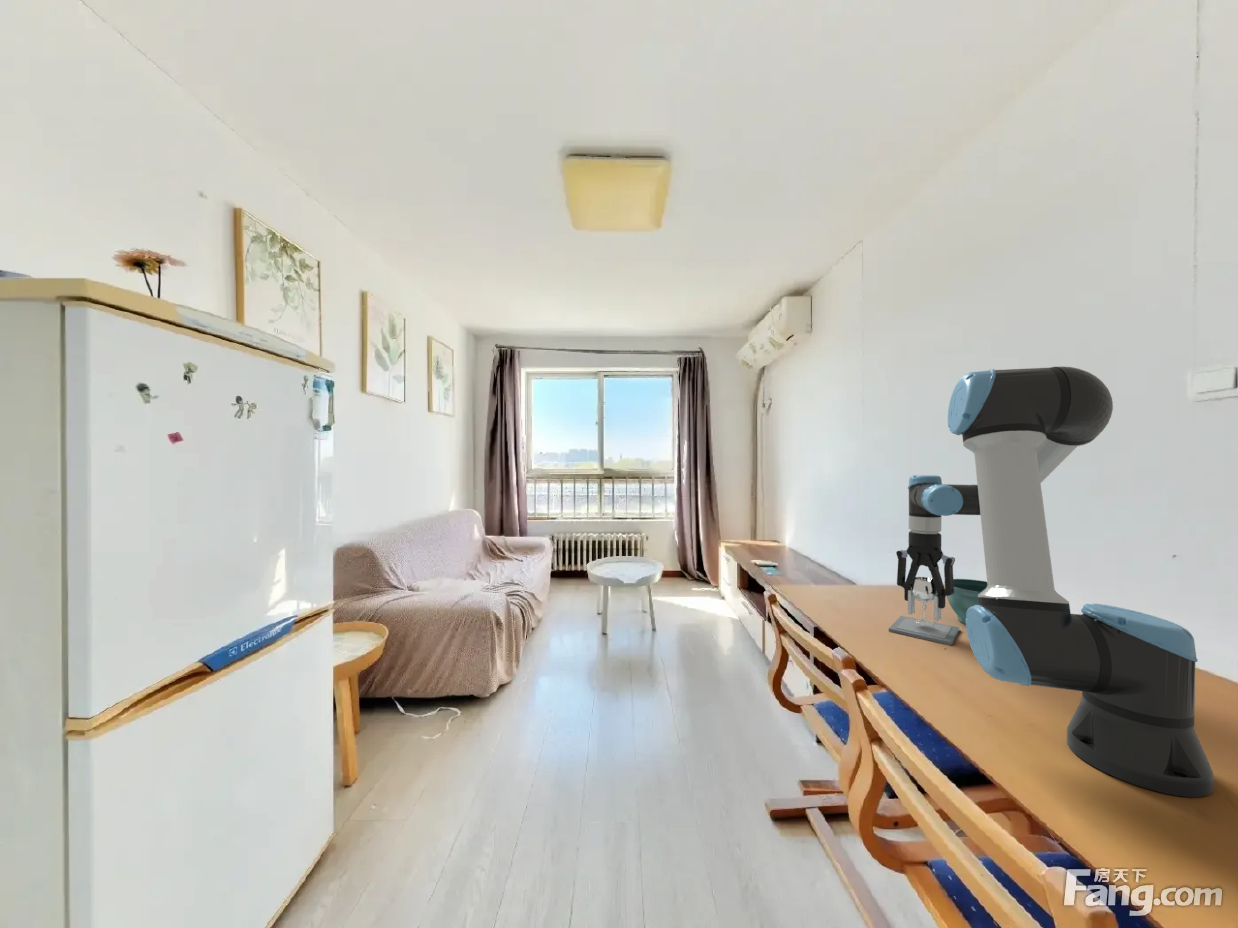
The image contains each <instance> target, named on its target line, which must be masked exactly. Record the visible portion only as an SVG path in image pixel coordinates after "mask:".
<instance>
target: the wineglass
mask: <svg viewBox="0 0 1238 928" xmlns="http://www.w3.org/2000/svg"><path fill="white" fill-rule="evenodd" d="M911 589H912V594H913V596H914V598H915V600H917V601H919V602H921V603H922V604H921V607H922V611H923V612H922V613H923V615H922V616H923V618H922V619H920V620H915V622H916V623H918V624H921V625H927V626H932V625H934V623H933V622H934V621H930V620H927V617H926V611H927V607H928V606H927V604H928V603H932V602H934V596H935V595H937V591H936V588H935V585H934V582H933V578H932V577H924V576H916V577H915V578H914V581H913V585H912V588H911Z"/></svg>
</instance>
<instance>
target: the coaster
mask: <svg viewBox="0 0 1238 928" xmlns="http://www.w3.org/2000/svg"><path fill="white" fill-rule="evenodd" d="M915 620H921V619H920V618H915V617H910V616H905V615H900V616H899V617H898V618H897V619H896V620H895V621H893V623H892V624H891V626H890V627H888V632H890V633H895V634H899V635H902V636H908V637H913V638H918V639H922V640H925V641H931V642H934V643H938V644H939V643H940V644H944V645H949V646H952V644H953V642H954V641H955V640H956V638H957V635H958V634H959V632H960V626H959V627H958V626H956V625H955V626H954V625H949V624H946V623H939V622H936V621H935V622H934V621H932V622H933V623H934V625H932V626H927V625H921V624H918V623H916V622H915Z"/></svg>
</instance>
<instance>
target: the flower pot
mask: <svg viewBox="0 0 1238 928" xmlns="http://www.w3.org/2000/svg"><path fill="white" fill-rule="evenodd" d="M953 581H954V594H952V595H950V596H946V599H947V601H948V604H949V605H950V607H951V609H952V610H953V612H954V613H955V614H956V615H957V620H958V621H959V622H960V623H963V624H965V625H966V618H967V616H966V613H967V610H968V609H969V608H970V607H972V606H974V605H979V604H978V594H980V593H981V592H982V591H983V590H984V589H986V587H987V585H988V584H987V580H986V581H985V580H980V579H979V580H978V579H969V578H953ZM943 583H945V580H944V582H943Z"/></svg>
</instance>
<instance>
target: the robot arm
mask: <svg viewBox="0 0 1238 928" xmlns="http://www.w3.org/2000/svg"><path fill="white" fill-rule="evenodd" d="M1113 403H1114V401H1113V397H1112V395H1111V393H1110V390H1109V388H1108V387H1107V386H1106V384H1105V383H1104V381H1102V380H1101V379H1100V378H1099V377H1097V376H1096V375H1094V374H1092V373H1091V372H1089V371H1086V370H1083V369H1081V368H1076V367H1072V366H1051V367H1037V368H1036V367H1035V368H1034V367H1032V368H1013V369H1012V368H1011V369H994V368H993V369H992V368H991V369H989V370H981V371H971V372H968V373H966V374H964V375H963V376H961V378H960V379H959V380H958V382H956V384H955V386H954V388H953V391H952V394H951V397H950V399H949V403H948V404H949V405H948V409H947V426H948V428H949V431H950V433H951V434H954V435H956V436H961V437H962V446H963V447H964V448H965V449H967V450H969V451H970V452H972V453H973V454H974V463H975V472H976V473H975V474H976V484H950V483H949V484H945V483H944V484H943V482H942V477H941V476H940V475H937V474H936V475H933V474H924V475H923V474H921V475H920V474H917V475H915V474H914V475H913V474H912V475H911V476H910V477H909V480H908V486H907V489H908V529H909V532H908V541H907V543H908V547H907V548H906V549H904V550H903V549H900V550H897V551H896V552H895V553H896V558H897V559H898V560H897V572H896V573H897V574H896V575H897V576H896V585H897V586H899V587H901V588H903V590H904V593H903V594H904V601H907V614H908V615H913V614H915V613H916V599H915V598H914V596H913V594H912V585H913V581H914V578H915V577H917V574H918V573H919V572H918V571H919V569H920V567H921V566H924V567H926V568H928V571H929V572H930V574H931V575H930V576H931V579H933V582H934V585H935V588H936V591H937V595H935V596H934V601H933V616H934V617H933V621H935V622H937V621H939V620H942V609H945V607H946V598H947V596H950V595H952V594H954V581H953V579H954V564H955V562H956V557H953V556H951V557H950V556H947V555H945V554H944V552H943V550H942V534H941V533H940V532H942V516H944V517H946V516H949V517H950V516H952V515H953V516H954V515H958V516H980V524H981V531H982V544H983V553H984V564H985V573H986V581H987V584H988V585H987V587H986V589H984V590H983V591H982V592H981V593H980V594H978V604H979V605H974V606H972V607H970V608H969V609H968V610H967V613H966V616H967V618H966V624H965V628H966V634H967V639H968V642H969V646H970V648H971V650H972V652H973V655H974V657H975V659H976V660H977V663H978V664H979V666H980V667H981V669H982V670H983V671H984V672H985V673H986V674H987V675H989V677H990V678H991V677H992V679H995V680H997V681H1001V682H1006V683H1007V682H1008V683H1012V684H1018V685H1022V686H1025V687H1029V686H1036V687H1045V688H1052V689H1053V688H1054V689H1060V690H1061V689H1062V690H1068V691H1076V692H1081V700H1080V702H1079V703H1078V706H1077V708H1076V710H1075V711H1074V713H1073V715H1072V718H1071V719H1070V721H1069V723H1068V725H1067V727H1066V745H1067V746H1068V748H1069V749H1070V750H1071V751H1072V753H1074V754H1075V755H1076V756H1077V757H1078V758H1080V759H1081V760H1083V761H1084V762H1086V763H1087V764H1089V765H1091V766H1092V767H1094V768H1096V769H1098V770H1100V771H1101V772H1104V773H1105V774H1108V775H1110V776H1112V777H1114V778H1117V779H1118V780H1121V781H1124V782H1126V783H1130V784H1132V785H1134V786H1135V785H1136V786H1139V787H1141V788H1144V789H1148V790H1151V791H1155V792H1159V793H1163V794H1167V795H1173V796H1178V797H1179V796H1180V797H1188V798H1200V797H1206V796H1208V795H1211V794H1212V793H1213V792H1214V773H1213V772H1214V771H1213V769H1212V767H1211V765H1210V763H1209V759H1208V758H1207V756H1206V753H1205V751H1204V748H1203V746H1202V744H1201V741H1200V739H1199V737H1198V735H1197V733H1196V729H1195V713H1196V711H1195V709H1196V705H1195V704H1196V702H1195V701H1196V663H1198V658H1197V651H1196V644H1195V643H1196V642H1195V638H1194V636H1193V635H1192V633H1191V632H1190V631H1189V630H1188V629H1186V628H1185V627H1183V626H1181V625H1179V624H1178V623H1175V622H1172V621H1169V620H1167V619H1165V618H1162V617H1159V616H1158V617H1157V616H1155V615H1150V614H1148V613H1143V612H1140V611H1138V610H1137V611H1136V610H1132V609H1128V608H1124V607H1117V606H1113V605H1107V604H1101V603H1093V602H1092V603H1085V604H1083V607H1082V608H1081V610H1080V611H1081V614H1080V613H1079V614H1076V613H1071V609H1070V608H1071V605H1070V601H1068V600H1067V599H1066V598H1065V597H1064V596H1062V595H1061V594H1059V593H1058V592H1057V591H1056V590H1055V583H1054V576H1053V574H1054V573H1053V568H1052V566H1053V565H1052V559H1051V551H1050V544H1049V538H1048V529H1047V522H1046V515H1045V514H1046V513H1045V508H1044V505H1045V504H1044V500H1043V492H1042V491H1043V490H1042V482H1044V481H1045V479H1047V478H1048V476H1050V474H1051V473H1052V472H1054V471H1055V470H1056V468H1058V467H1059V466H1060V464H1061V463H1063V462H1064V461H1065V459H1066V458H1067V457H1069V456H1070V454H1072V452H1073V451H1074V450H1076V449H1077V448H1078V447H1080V446H1085V445H1087V444H1089V443H1092V442H1093V441H1095V439H1096V438H1098V436H1099V435H1100V434H1101V433H1102V432H1103V431H1104V430H1105V428H1106V427H1107V426H1108V424H1109V422H1110V419H1111V418H1112V414H1113V411H1114V410H1113V409H1114V405H1113ZM908 556H909V557H910V559H911V563H910V568H909V571H908V574H907V558H908ZM940 560H942V563H943V569H944V570H943V572H944V581H945V582H943V579H942V576H941V573H940V572H941V571H940V567H939V563H938V562H940ZM906 574H907V577H906Z"/></svg>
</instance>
